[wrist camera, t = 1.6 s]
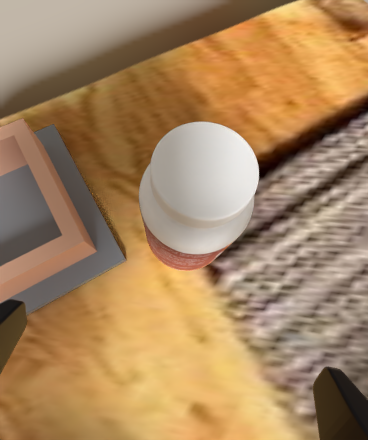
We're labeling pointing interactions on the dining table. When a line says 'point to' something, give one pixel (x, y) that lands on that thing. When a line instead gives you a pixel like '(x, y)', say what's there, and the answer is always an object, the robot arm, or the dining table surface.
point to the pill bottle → (197, 194)
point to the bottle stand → (47, 220)
